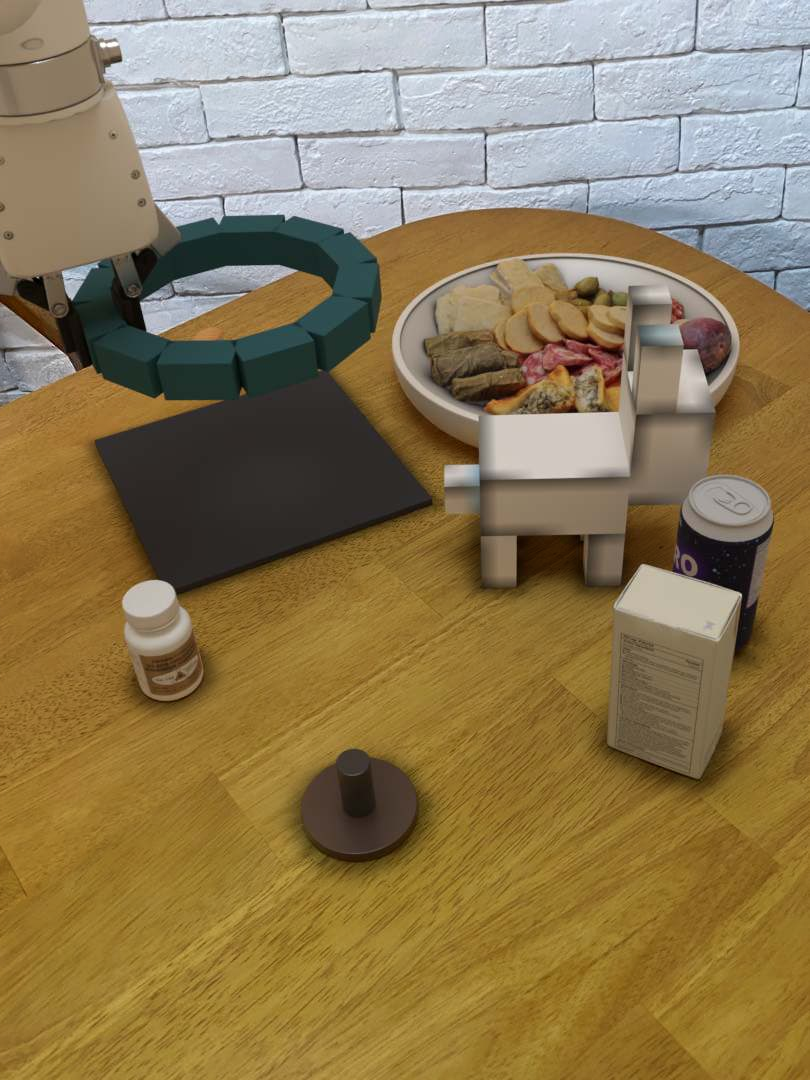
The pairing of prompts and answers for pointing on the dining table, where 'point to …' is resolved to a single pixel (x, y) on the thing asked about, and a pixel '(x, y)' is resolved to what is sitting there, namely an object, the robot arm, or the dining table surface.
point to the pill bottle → (161, 641)
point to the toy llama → (593, 454)
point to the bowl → (542, 338)
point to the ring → (254, 357)
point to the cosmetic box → (671, 668)
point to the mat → (255, 480)
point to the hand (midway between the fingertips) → (107, 348)
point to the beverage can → (726, 540)
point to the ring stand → (359, 807)
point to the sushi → (209, 334)
